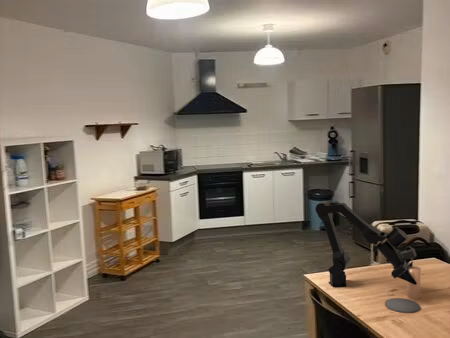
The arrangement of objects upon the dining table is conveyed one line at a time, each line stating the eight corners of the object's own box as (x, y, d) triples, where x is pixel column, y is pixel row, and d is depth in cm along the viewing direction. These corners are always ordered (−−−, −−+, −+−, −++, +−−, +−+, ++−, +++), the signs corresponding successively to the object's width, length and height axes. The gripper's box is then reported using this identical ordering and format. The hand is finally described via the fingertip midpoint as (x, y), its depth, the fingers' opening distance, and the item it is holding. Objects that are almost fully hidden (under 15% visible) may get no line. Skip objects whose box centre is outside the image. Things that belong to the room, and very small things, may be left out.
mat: (395, 314, 173) (395, 312, 173) (379, 301, 186) (379, 299, 186) (426, 311, 175) (426, 309, 175) (407, 298, 188) (407, 296, 188)
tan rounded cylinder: (411, 299, 187) (411, 270, 186) (404, 294, 192) (404, 266, 191) (422, 298, 188) (423, 269, 186) (415, 293, 193) (416, 265, 192)
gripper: (399, 247, 182) (429, 277, 177) (408, 236, 198) (435, 264, 193) (379, 263, 187) (407, 293, 182) (389, 252, 202) (415, 279, 198)
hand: (417, 282), depth 188 cm, fingers closed on tan rounded cylinder, 5 cm apart
